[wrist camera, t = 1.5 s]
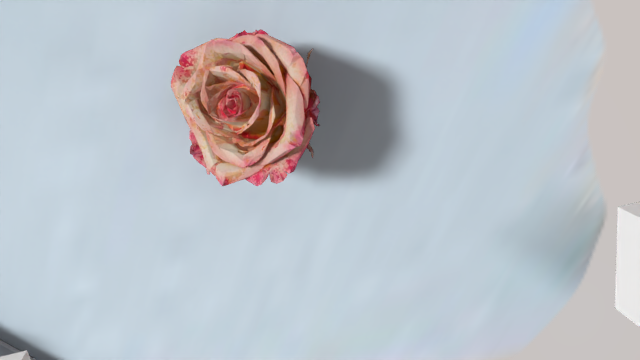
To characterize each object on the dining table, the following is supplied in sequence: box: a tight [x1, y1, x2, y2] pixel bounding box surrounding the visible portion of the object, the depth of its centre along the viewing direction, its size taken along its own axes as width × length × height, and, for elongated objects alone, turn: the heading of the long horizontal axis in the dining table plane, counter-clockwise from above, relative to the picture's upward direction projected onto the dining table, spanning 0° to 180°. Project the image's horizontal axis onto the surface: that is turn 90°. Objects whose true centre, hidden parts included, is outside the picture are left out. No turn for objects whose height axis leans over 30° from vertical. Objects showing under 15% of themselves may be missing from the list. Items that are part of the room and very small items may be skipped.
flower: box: [171, 30, 320, 186], centre depth 32 cm, size 10×9×8 cm
